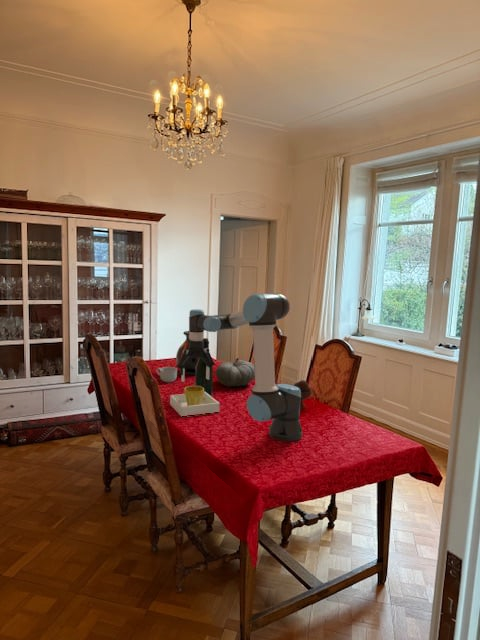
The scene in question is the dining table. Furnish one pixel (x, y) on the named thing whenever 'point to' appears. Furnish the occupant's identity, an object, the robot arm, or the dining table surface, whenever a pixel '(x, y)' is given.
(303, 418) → the dining table surface
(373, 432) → the dining table surface
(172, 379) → the teacup
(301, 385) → the ice cream bowl
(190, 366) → the amphora vase
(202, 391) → the plant pot
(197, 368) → the beer bottle
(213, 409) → the bin
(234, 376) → the gourd
